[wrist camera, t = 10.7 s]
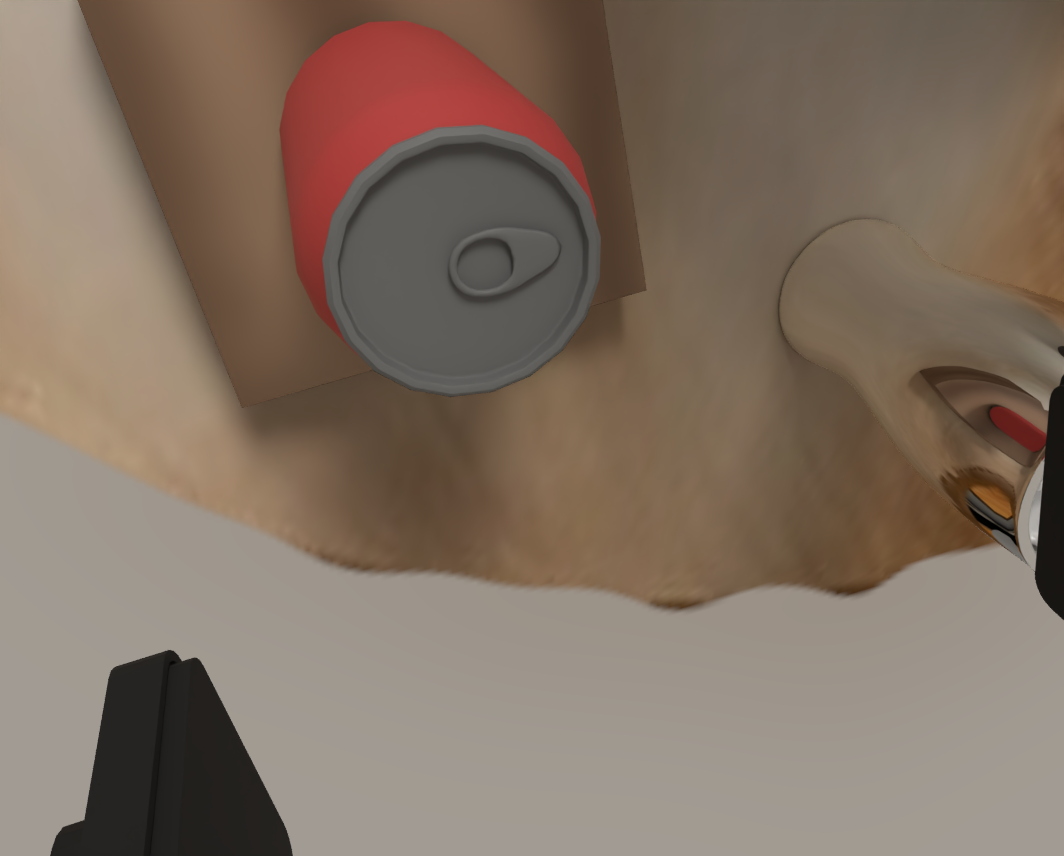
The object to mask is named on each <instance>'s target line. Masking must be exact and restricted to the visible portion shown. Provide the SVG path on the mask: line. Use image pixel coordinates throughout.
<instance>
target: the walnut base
mask: <svg viewBox="0 0 1064 856" xmlns="http://www.w3.org/2000/svg"><path fill="white" fill-rule="evenodd" d="M78 2H79V5H80V7H81V10H82V12H83V15H84V17H85V20H86V22H87V25H88V27H89V30H90V32H91V35H92V37H93V40H94V42H95V44H96V47H97V49H98V52H99V54H100V57H101V59H102V62H103V64H104V67H105V69H106V72H107V74H108V77H109V79H110V82H111V84H112V87H113V89H114V92H115V94H116V97H117V99H118V101H119V104H120V106H121V109H122V111H123V114H124V116H125V119H126V121H127V124H128V126H129V129H130V131H131V134H132V136H133V139H134V141H135V144H136V146H137V149H138V151H139V154H140V156H141V158H142V161H143V163H144V166H145V168H146V171H147V173H148V176H149V178H150V181H151V183H152V186H153V188H154V191H155V193H156V196H157V198H158V201H159V203H160V206H161V208H162V211H163V213H164V215H165V218H166V220H167V223H168V225H169V228H170V230H171V233H172V235H173V238H174V240H175V243H176V245H177V248H178V250H179V253H180V255H181V258H182V260H183V263H184V265H185V268H186V270H187V273H188V275H189V277H190V280H191V282H192V285H193V287H194V290H195V292H196V295H197V297H198V300H199V302H200V305H201V307H202V310H203V312H204V315H205V317H206V320H207V322H208V325H209V327H210V330H211V332H212V334H213V337H214V339H215V342H216V344H217V347H218V349H219V352H220V354H221V357H222V359H223V362H224V364H225V367H226V369H227V372H228V374H229V377H230V379H231V382H232V384H233V387H234V389H235V391H236V394H237V396H238V399H239V401H240V404H241V406H242V408H244V407H247V406H251V405H254V404H258V403H261V402H265V401H268V400H271V399H275V398H278V397H282V396H285V395H289V394H292V393H295V392H299V391H302V390H306V389H309V388H313V387H316V386H319V385H323V384H326V383H330V382H333V381H337V380H340V379H343V378H347V377H350V376H354V375H357V374H361V373H364V372H367V371H371V370H373V369H372V368H371V367H370V366H369V365H368V364H367V363H366V362H365V361H364V360H363V359H362V358H361V357H360V356H358V355H356V354H355V353H354V352H353V351H352V350H351V349H350V348H349V347H348V346H347V345H346V344H345V343H344V341H343V340H342V339H341V338H340V337H339V336H338V335H337V334H336V333H335V332H334V331H333V330H332V329H331V328H330V327H329V326H328V325H327V324H326V323H325V322H324V321H323V320H322V319H321V318H320V317H319V316H318V315H317V313H316V311H315V309H314V307H313V305H312V303H311V301H310V298H309V296H308V294H307V292H306V290H305V288H304V286H303V284H302V282H301V280H300V278H299V276H298V274H297V270H296V262H295V254H294V246H293V238H292V230H291V222H290V214H289V205H288V197H287V189H286V181H285V173H284V164H283V156H282V148H281V140H280V132H279V128H280V123H281V118H282V113H283V108H284V103H285V98H286V93H287V91H288V90H289V88H290V86H291V84H292V83H293V81H294V79H295V77H296V76H297V74H298V72H299V70H300V69H301V67H302V65H303V64H304V62H305V60H306V59H308V58H309V57H310V56H311V55H312V54H313V53H314V52H316V51H317V50H318V49H319V48H320V47H321V46H323V45H324V44H325V43H326V42H327V41H328V40H329V39H331V38H332V37H333V36H335V35H337V34H340V33H342V32H345V31H347V30H350V29H352V28H355V27H357V26H360V25H362V24H365V23H368V22H384V21H409V22H412V23H415V24H419V25H422V26H425V27H428V28H432V29H435V30H438V31H442V32H443V33H444V34H446V35H447V36H449V37H450V38H451V39H453V40H454V41H456V42H457V43H458V44H460V45H461V46H463V47H464V48H465V49H467V50H468V51H470V52H471V53H472V54H474V55H475V56H476V57H477V58H478V59H480V60H481V61H482V62H483V63H485V64H486V65H487V66H488V67H490V68H491V69H492V70H493V71H494V72H496V73H497V74H498V75H499V76H501V77H502V78H503V79H504V80H505V81H507V82H508V83H509V84H510V85H512V86H513V87H514V88H515V89H517V90H518V91H519V92H520V93H521V94H523V95H524V96H525V97H526V98H528V99H529V100H530V101H531V102H533V103H534V104H535V105H536V106H537V107H539V108H540V109H541V110H542V111H544V112H545V113H546V114H547V115H548V116H550V117H551V118H552V119H553V120H554V121H555V123H556V124H557V125H558V127H559V128H560V130H561V131H562V132H563V134H564V135H565V137H566V138H567V139H568V141H569V142H570V144H571V145H572V146H573V148H574V149H575V151H576V152H577V153H578V155H579V156H580V158H581V161H582V165H583V168H584V171H585V175H586V178H587V181H588V185H589V188H590V191H591V195H592V198H593V201H594V205H595V209H596V223H597V226H598V230H599V233H600V236H601V247H600V279H599V282H598V284H597V287H596V290H595V293H594V296H593V299H592V302H591V305H590V307H591V306H594V305H597V304H601V303H604V302H608V301H611V300H615V299H618V298H621V297H625V296H628V295H632V294H635V293H639V292H642V291H645V290H646V284H645V277H644V270H643V264H642V257H641V251H640V244H639V238H638V231H637V224H636V218H635V211H634V205H633V198H632V191H631V185H630V178H629V172H628V165H627V158H626V152H625V145H624V139H623V132H622V125H621V119H620V112H619V106H618V99H617V93H616V86H615V79H614V73H613V66H612V60H611V53H610V46H609V40H608V33H607V27H606V20H605V13H604V7H603V0H78Z"/></svg>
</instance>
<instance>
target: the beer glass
mask: <svg viewBox="0 0 1064 856" xmlns="http://www.w3.org/2000/svg"><path fill="white" fill-rule="evenodd" d="M779 317H780V323H781V327H782V330H783V332H784V335H785V337H786V339H787V340H788V342H789V344H790V345H791V346H792V348H793V349H794V350H795V351H796V352H797V353H799V354H800V355H801V356H802V357H804V358H805V359H807V360H809V361H810V362H812V363H814V364H816V365H818V366H820V367H823V368H825V369H827V370H829V371H832V372H834V373H836V374H838V375H839V376H841V377H842V378H844V379H845V380H846V381H847V382H848V383H849V384H850V385H851V386H852V387H853V388H854V389H855V390H856V391H857V393H858V394H859V395H860V397H861V398H862V399H863V401H864V402H865V404H866V405H867V407H868V408H869V410H870V411H871V413H872V414H873V416H874V417H875V418H876V420H877V421H878V423H879V424H880V426H881V427H882V429H883V430H884V431H885V433H886V434H887V436H888V437H889V439H890V440H891V442H892V443H893V444H894V446H895V447H896V448H897V450H898V451H899V452H900V453H901V455H902V456H903V457H904V458H905V460H906V461H907V462H908V463H909V465H910V466H911V467H912V468H913V470H914V471H915V472H916V473H917V474H918V475H919V476H920V477H921V478H922V479H923V480H924V481H925V482H926V483H927V484H928V485H929V486H930V487H931V488H932V489H933V490H934V491H935V492H936V493H937V494H938V495H939V496H940V497H941V498H942V499H943V500H944V501H945V502H947V503H948V504H949V505H950V506H951V507H952V508H954V509H955V510H956V511H957V512H958V513H960V514H961V515H962V516H963V517H964V518H966V519H967V520H968V521H969V522H970V523H972V524H973V525H974V526H976V527H977V528H978V529H980V530H981V531H982V532H984V533H985V534H986V535H988V536H989V537H990V538H992V539H993V540H994V541H996V542H997V543H998V544H1000V545H1001V546H1003V547H1004V548H1005V549H1007V550H1008V551H1010V552H1011V553H1013V554H1014V555H1015V556H1017V557H1018V558H1020V559H1021V560H1022V561H1023V562H1025V563H1026V564H1027V565H1029V566H1030V568H1032V570H1033V571H1034V572H1035V566H1036V554H1037V542H1038V530H1039V518H1040V507H1041V495H1042V483H1043V471H1044V459H1045V447H1046V436H1047V424H1048V412H1049V400H1050V396H1051V393H1052V391H1053V390H1054V388H1056V387H1058V386H1059V385H1060V381H1061V378H1062V376H1063V375H1064V302H1062V301H1059V300H1057V299H1054V298H1051V297H1048V296H1045V295H1042V294H1039V293H1036V292H1033V291H1030V290H1027V289H1024V288H1020V287H1017V286H1013V285H1009V284H1005V283H1002V282H998V281H994V280H991V279H987V278H983V277H979V276H975V275H971V274H967V273H964V272H960V271H957V270H954V269H951V268H948V267H946V266H944V265H942V264H940V263H938V262H937V261H935V260H934V259H933V258H931V257H930V256H929V255H928V254H927V253H926V252H925V251H924V250H923V249H922V247H921V246H920V245H919V244H918V243H917V242H916V241H915V240H914V239H913V238H912V237H911V236H910V235H908V234H907V233H906V232H905V231H904V230H902V229H901V228H899V227H897V226H896V225H894V224H892V223H889V222H886V221H882V220H876V219H857V220H852V221H848V222H845V223H842V224H839V225H837V226H835V227H833V228H831V229H829V230H827V231H825V232H824V233H822V234H821V235H819V236H818V237H817V238H815V239H814V240H813V241H812V242H811V243H810V244H809V245H808V246H807V247H806V248H805V249H804V250H803V251H802V252H801V253H800V255H799V256H798V257H797V259H796V260H795V262H794V263H793V265H792V266H791V268H790V270H789V272H788V274H787V276H786V278H785V281H784V284H783V287H782V290H781V295H780V301H779Z"/></svg>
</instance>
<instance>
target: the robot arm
mask: <svg viewBox="0 0 1064 856" xmlns="http://www.w3.org/2000/svg"><path fill="white" fill-rule="evenodd" d="M1035 580H1036V584H1037V587H1038V590H1039V592H1040V594H1041V596H1042V598H1043V599H1044V601H1045V602H1046V603H1047V604H1048V606H1049V607H1050V608H1051V609H1052V610H1053V611H1054V612H1055V613H1057V614H1058V615H1059V616H1060V617H1061V618H1062V619H1063V620H1064V375H1063V376H1062V378H1061V381H1060V385H1059V386H1058V387H1056V388H1054V390H1053V391H1052V393H1051V396H1050V400H1049V412H1048V424H1047V436H1046V447H1045V459H1044V471H1043V483H1042V495H1041V507H1040V518H1039V530H1038V542H1037V554H1036V566H1035ZM50 856H293V855H292V849H291V844H290V841H289V837H288V833H287V830H286V828H285V826H284V823H283V821H282V819H281V818H280V816H279V814H278V812H277V810H276V808H275V806H274V804H273V802H272V800H271V798H270V796H269V794H268V792H267V790H266V788H265V786H264V784H263V782H262V780H261V778H260V776H259V774H258V772H257V770H256V769H255V766H254V764H253V762H252V760H251V758H250V757H249V755H248V753H247V751H246V749H245V747H244V745H243V743H242V741H241V739H240V737H239V735H238V733H237V731H236V729H235V727H234V725H233V723H232V721H231V719H230V717H229V715H228V713H227V711H226V709H225V707H224V706H223V703H222V701H221V700H220V698H219V696H218V694H217V692H216V690H215V688H214V686H213V684H212V682H211V680H210V678H209V676H208V674H207V672H206V670H205V668H204V666H203V665H202V663H201V661H200V660H199V659H198V658H191V659H188V660H185V661H181V659H180V658H179V656H178V655H177V654H176V653H175V652H174V651H171V650H168V651H164V652H162V653H158V654H155V655H152V656H149V657H145V658H142V659H139V660H136V661H133V662H129V663H126V664H123V665H120V666H116V667H115V668H113V669H112V670H111V673H110V676H109V679H108V685H107V691H106V697H105V703H104V708H103V714H102V720H101V726H100V732H99V738H98V744H97V749H96V755H95V761H94V767H93V773H92V778H91V784H90V790H89V796H88V802H87V808H86V814H85V820H83V821H80V822H77V823H74V824H71V825H68V826H65V827H63V828H62V830H61V831H60V832H59V833H58V835H57V836H56V838H55V842H54V844H53V847H52V851H51V855H50Z"/></svg>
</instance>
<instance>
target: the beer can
mask: <svg viewBox="0 0 1064 856" xmlns="http://www.w3.org/2000/svg"><path fill="white" fill-rule="evenodd" d="M279 132H280V140H281V148H282V156H283V164H284V173H285V181H286V189H287V197H288V205H289V214H290V222H291V230H292V238H293V246H294V254H295V262H296V270H297V274H298V276H299V278H300V280H301V282H302V284H303V286H304V288H305V290H306V292H307V294H308V296H309V298H310V301H311V303H312V305H313V307H314V309H315V311H316V313H317V315H318V316H319V317H320V318H321V319H322V320H323V321H324V322H325V323H326V324H327V325H328V326H329V327H330V328H331V329H332V330H333V331H334V332H335V333H336V334H337V335H338V336H339V337H340V338H341V339H342V340H343V341H344V343H345V344H346V345H347V346H348V347H349V348H350V349H351V350H352V351H353V352H354V353H355V354H356V355H358V356H360V357H361V358H362V359H363V360H364V361H365V362H366V363H367V364H368V365H369V366H370V367H371V368H372V369H373V370H374V371H375V372H377V373H379V374H381V375H383V376H385V377H387V378H389V379H391V380H393V381H395V382H396V383H398V384H400V385H402V386H404V387H406V388H408V389H410V390H415V391H420V392H426V393H432V394H438V395H443V396H449V397H454V396H463V395H471V394H480V393H488V392H493V391H496V390H498V389H500V388H503V387H505V386H508V385H510V384H512V383H515V382H517V381H520V380H522V379H525V378H527V377H529V376H531V375H532V374H533V373H535V372H536V371H537V370H538V369H540V368H541V367H542V366H543V365H545V364H546V363H547V362H549V361H550V360H551V359H552V358H554V357H555V356H556V355H557V354H559V353H560V352H561V351H562V350H563V349H564V347H565V346H566V345H567V343H568V342H569V341H570V339H571V338H572V336H573V335H574V334H575V332H576V331H577V329H578V328H579V327H580V325H581V324H582V322H583V321H584V320H585V318H586V316H587V314H588V311H589V308H590V305H591V302H592V299H593V296H594V293H595V290H596V287H597V284H598V282H599V279H600V247H601V236H600V233H599V230H598V226H597V223H596V209H595V205H594V201H593V198H592V195H591V191H590V188H589V185H588V181H587V178H586V175H585V171H584V168H583V165H582V161H581V158H580V156H579V155H578V153H577V152H576V151H575V149H574V148H573V146H572V145H571V144H570V142H569V141H568V139H567V138H566V137H565V135H564V134H563V132H562V131H561V130H560V128H559V127H558V125H557V124H556V123H555V121H554V120H553V119H552V118H551V117H550V116H548V115H547V114H546V113H545V112H544V111H542V110H541V109H540V108H539V107H537V106H536V105H535V104H534V103H533V102H531V101H530V100H529V99H528V98H526V97H525V96H524V95H523V94H521V93H520V92H519V91H518V90H517V89H515V88H514V87H513V86H512V85H510V84H509V83H508V82H507V81H505V80H504V79H503V78H502V77H501V76H499V75H498V74H497V73H496V72H494V71H493V70H492V69H491V68H490V67H488V66H487V65H486V64H485V63H483V62H482V61H481V60H480V59H478V58H477V57H476V56H475V55H474V54H472V53H471V52H470V51H468V50H467V49H465V48H464V47H463V46H461V45H460V44H458V43H457V42H456V41H454V40H453V39H451V38H450V37H449V36H447V35H446V34H444V33H443V32H442V31H438V30H435V29H432V28H428V27H425V26H422V25H419V24H415V23H412V22H409V21H384V22H368V23H365V24H362V25H360V26H357V27H355V28H352V29H350V30H347V31H345V32H342V33H340V34H337V35H335V36H333V37H332V38H331V39H329V40H328V41H327V42H326V43H325V44H324V45H323V46H321V47H320V48H319V49H318V50H317V51H316V52H314V53H313V54H312V55H311V56H310V57H309V58H308V59H306V60H305V62H304V64H303V65H302V67H301V69H300V70H299V72H298V74H297V76H296V77H295V79H294V81H293V83H292V84H291V86H290V88H289V90H288V91H287V93H286V98H285V103H284V108H283V113H282V118H281V123H280V128H279Z"/></svg>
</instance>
